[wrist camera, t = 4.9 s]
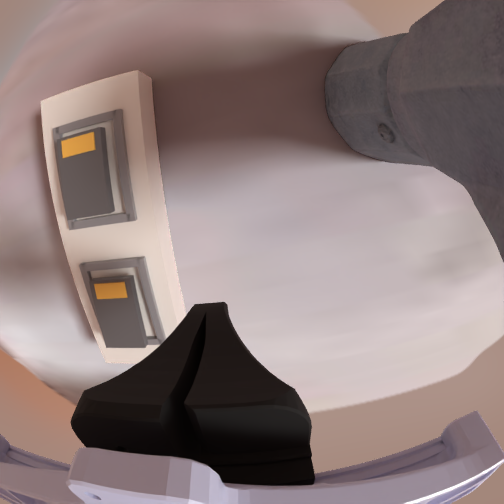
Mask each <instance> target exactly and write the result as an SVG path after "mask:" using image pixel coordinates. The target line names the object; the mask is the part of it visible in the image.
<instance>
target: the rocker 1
mask: <svg viewBox="0 0 504 504" xmlns="http://www.w3.org/2000/svg"><path fill="white" fill-rule="evenodd" d="M57 151H58V161H59V170H60V178H61V185H62V192H63V199H64V205H65V211H66V216H67V221H68V220H73V219H79V218H85V217H91V216H97V215H103V214H109V213H112V212H114V211H115V207H114V200H113V194H112V186H111V179H110V171H109V163H108V153H107V143H106V131H105V128H104V127H98V128H94V129H90V130H87V131H83V132H80V133H76V134H73V135H70V136H66V137H63V138H60V139H57Z"/></svg>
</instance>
